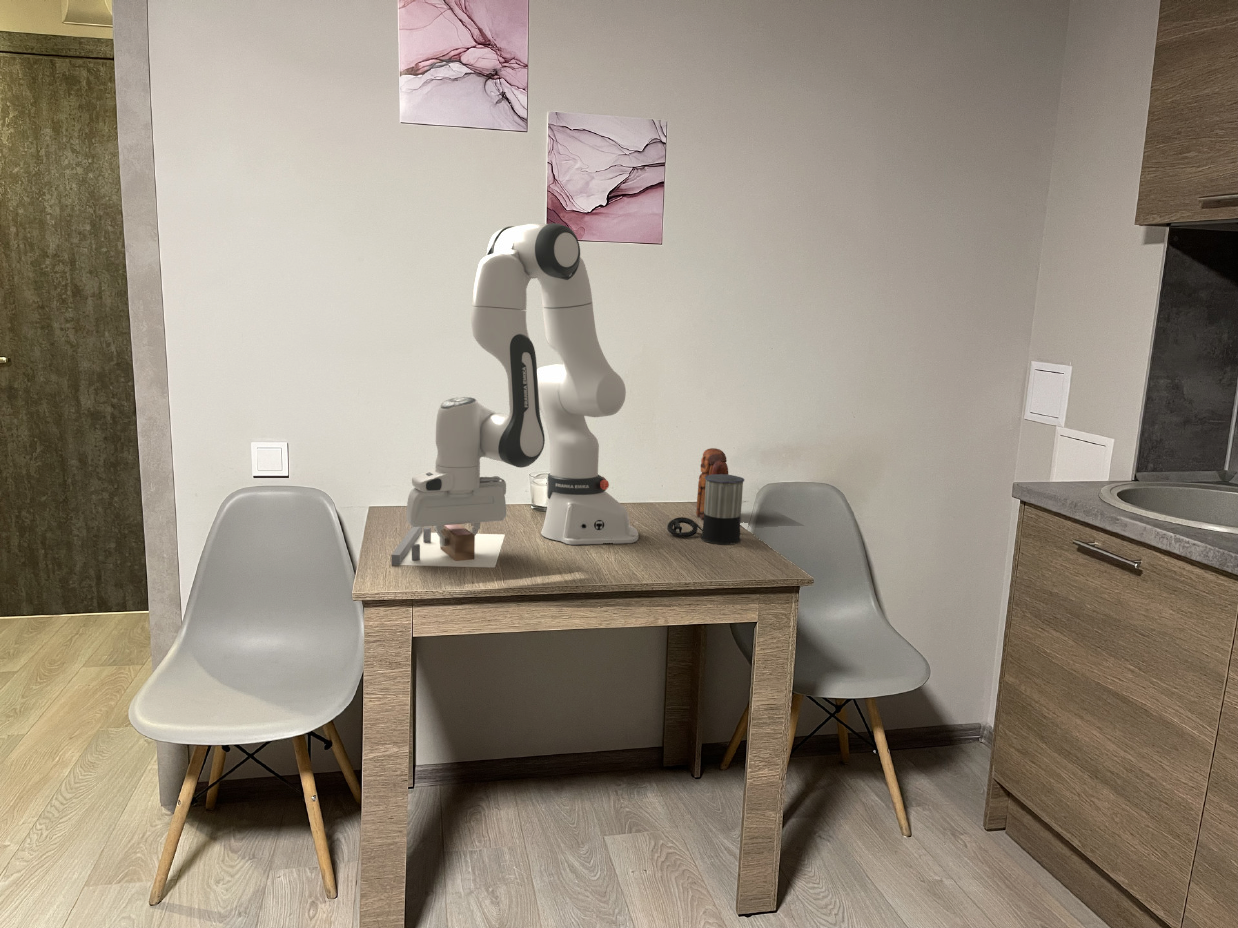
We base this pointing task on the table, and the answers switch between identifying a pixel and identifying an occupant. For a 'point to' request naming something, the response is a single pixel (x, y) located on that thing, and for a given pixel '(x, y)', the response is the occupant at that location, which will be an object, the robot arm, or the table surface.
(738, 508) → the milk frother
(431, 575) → the table surface
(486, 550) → the board
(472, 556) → the wooden block
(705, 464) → the wooden figurine
